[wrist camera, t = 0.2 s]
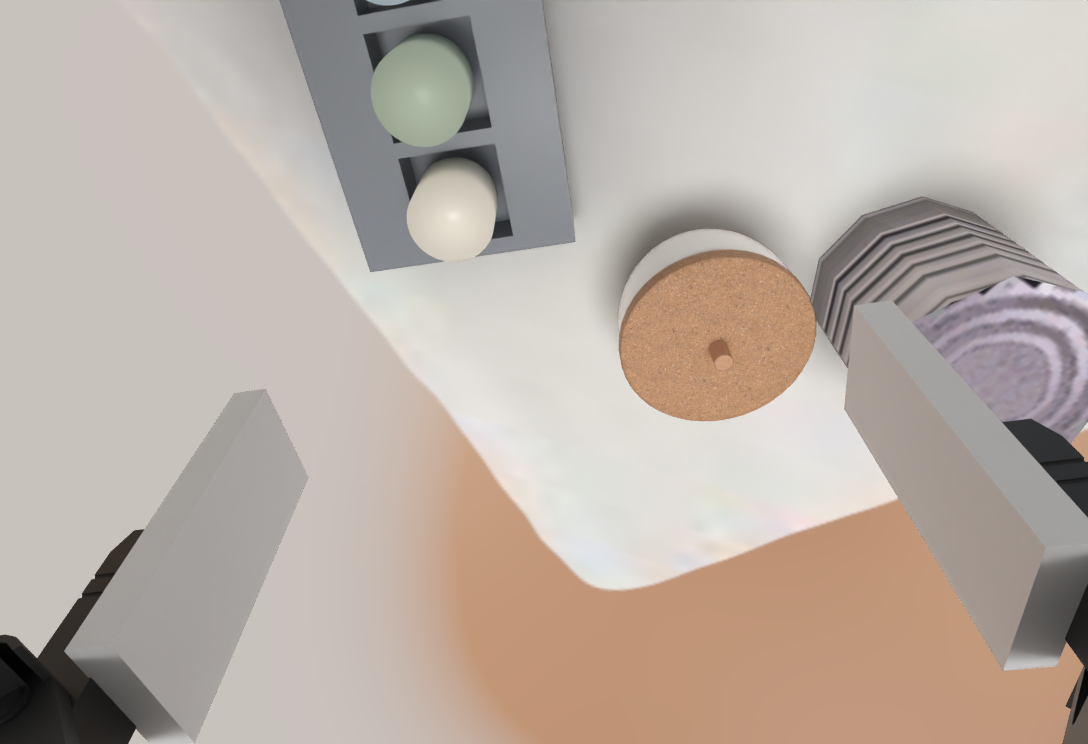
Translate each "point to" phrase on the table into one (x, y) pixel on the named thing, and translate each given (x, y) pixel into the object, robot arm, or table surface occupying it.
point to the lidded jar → (713, 326)
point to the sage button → (423, 90)
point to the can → (966, 307)
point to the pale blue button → (387, 2)
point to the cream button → (453, 210)
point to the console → (485, 136)
